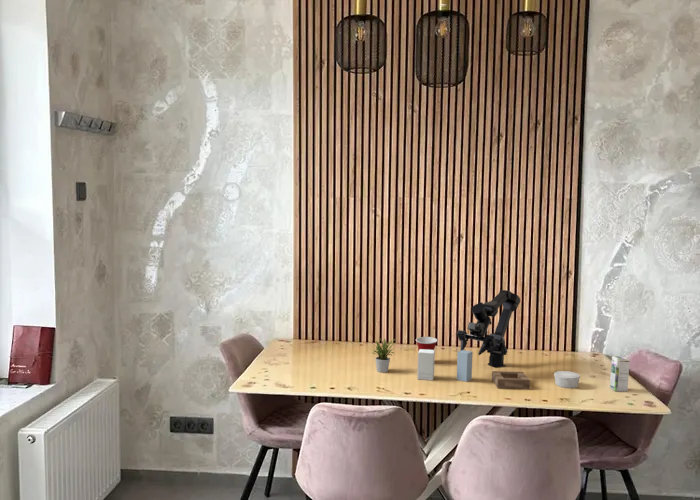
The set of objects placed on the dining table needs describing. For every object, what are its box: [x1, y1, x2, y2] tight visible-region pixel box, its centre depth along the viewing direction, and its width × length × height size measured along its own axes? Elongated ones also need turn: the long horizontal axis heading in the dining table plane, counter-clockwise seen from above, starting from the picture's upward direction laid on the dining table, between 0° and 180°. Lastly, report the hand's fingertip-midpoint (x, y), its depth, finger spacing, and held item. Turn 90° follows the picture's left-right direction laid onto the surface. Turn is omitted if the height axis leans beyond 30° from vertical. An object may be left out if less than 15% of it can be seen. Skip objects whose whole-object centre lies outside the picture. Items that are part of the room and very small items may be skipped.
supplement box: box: [416, 349, 436, 381], centre depth 310 cm, size 7×7×13 cm
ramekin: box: [553, 370, 581, 389], centre depth 303 cm, size 11×11×5 cm
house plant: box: [371, 337, 397, 373], centre depth 320 cm, size 14×14×16 cm
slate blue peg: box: [456, 349, 474, 383], centre depth 309 cm, size 5×5×13 cm
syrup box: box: [609, 355, 630, 392], centre depth 297 cm, size 6×6×14 cm
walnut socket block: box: [491, 370, 531, 390], centre depth 303 cm, size 14×14×4 cm
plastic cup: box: [415, 336, 438, 352], centre depth 338 cm, size 11×11×12 cm
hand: (469, 353), depth 312 cm, fingers open, 9 cm apart
